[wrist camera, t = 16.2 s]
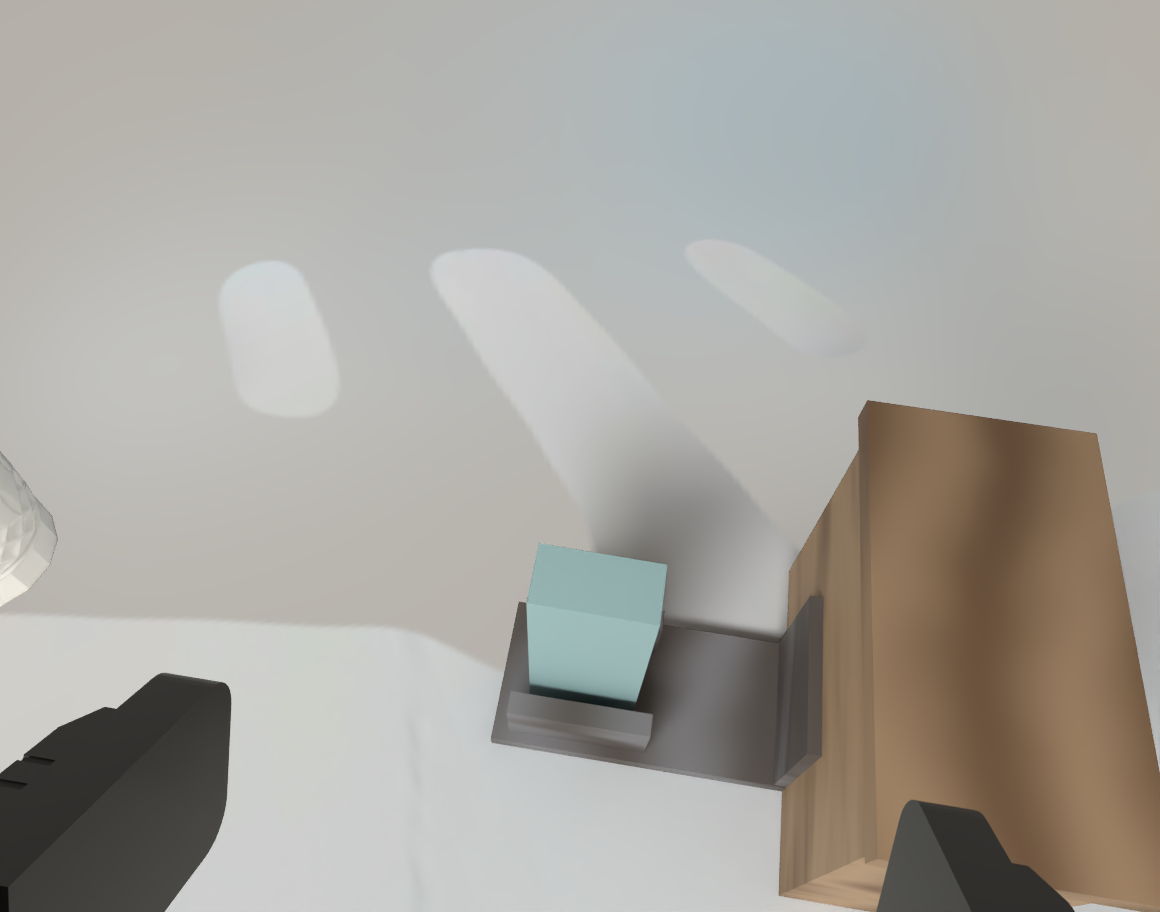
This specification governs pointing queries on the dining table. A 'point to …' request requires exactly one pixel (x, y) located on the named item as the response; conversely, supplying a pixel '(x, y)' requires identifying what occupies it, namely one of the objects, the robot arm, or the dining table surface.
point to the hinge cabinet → (917, 671)
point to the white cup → (22, 535)
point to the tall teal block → (592, 625)
